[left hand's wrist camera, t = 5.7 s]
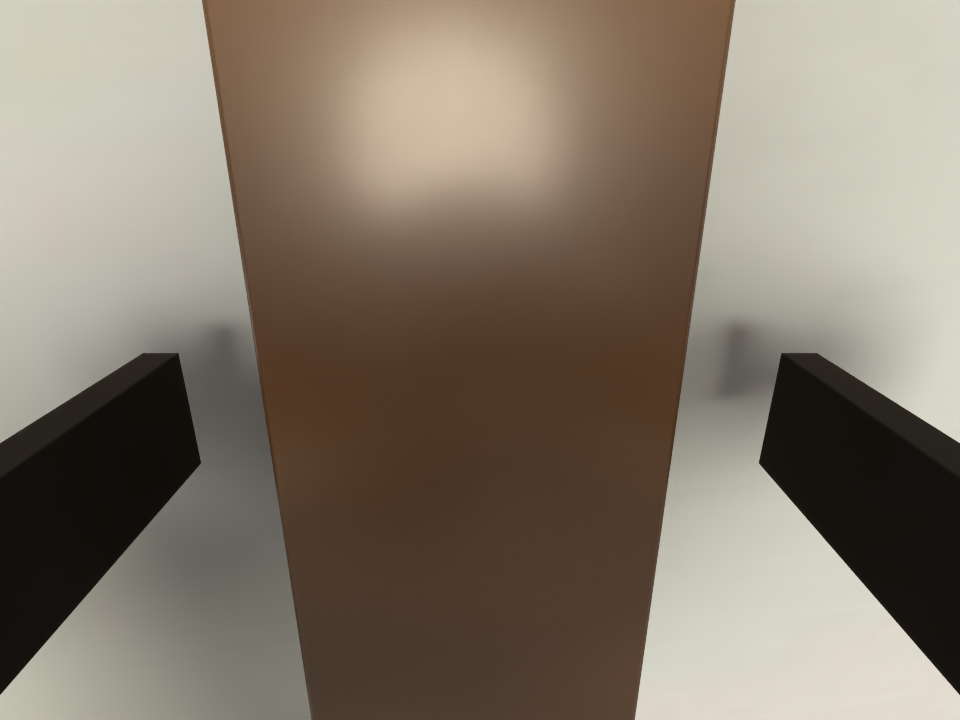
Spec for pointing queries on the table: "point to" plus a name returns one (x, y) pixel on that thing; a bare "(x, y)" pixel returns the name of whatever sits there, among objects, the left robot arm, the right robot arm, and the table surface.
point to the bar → (470, 330)
